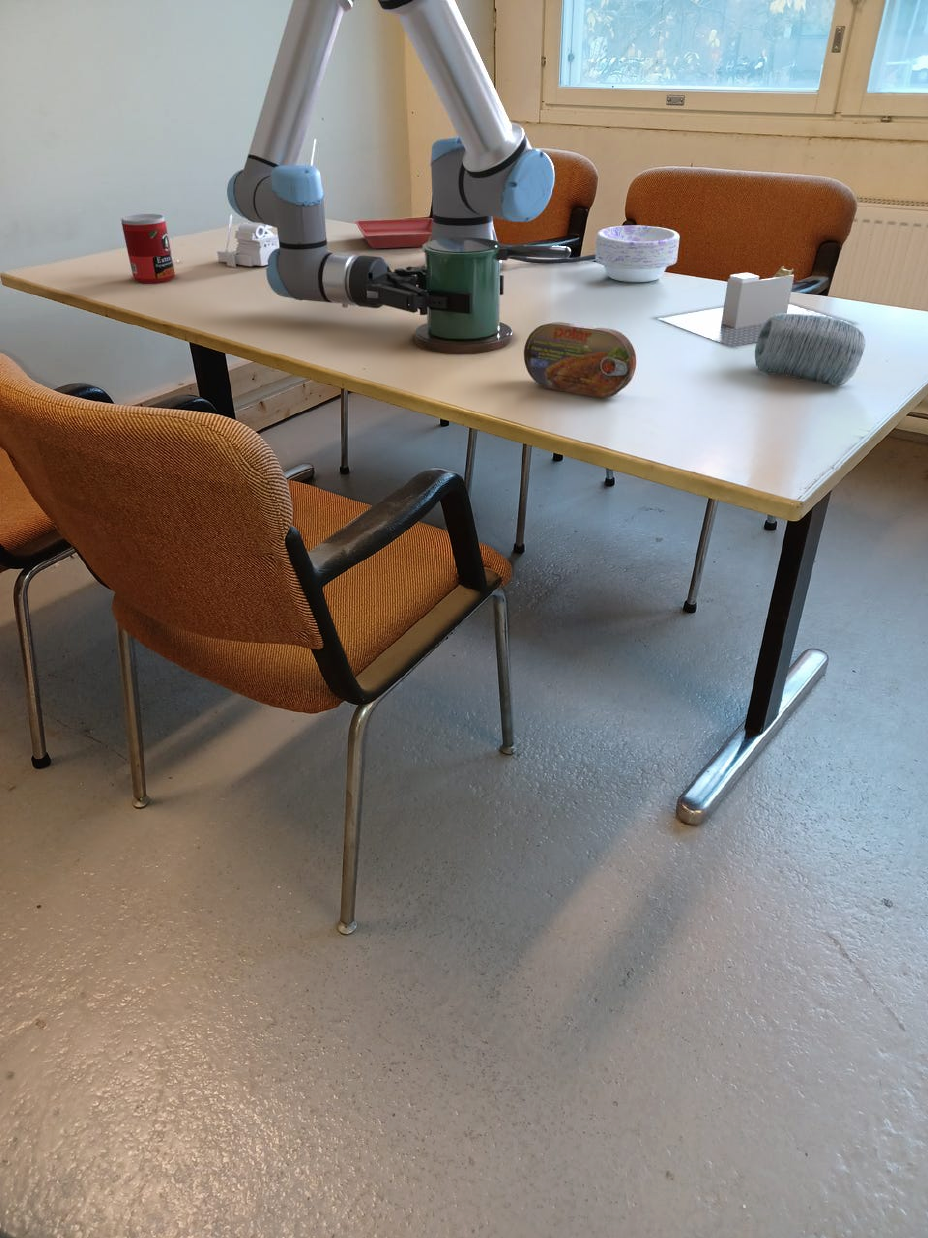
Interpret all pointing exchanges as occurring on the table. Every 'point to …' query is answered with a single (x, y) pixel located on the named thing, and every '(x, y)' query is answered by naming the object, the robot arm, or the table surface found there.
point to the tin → (580, 359)
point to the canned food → (148, 248)
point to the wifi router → (252, 243)
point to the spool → (809, 348)
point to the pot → (473, 281)
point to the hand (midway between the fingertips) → (487, 294)
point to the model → (743, 309)
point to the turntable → (463, 341)
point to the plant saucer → (396, 232)
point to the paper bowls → (636, 252)
